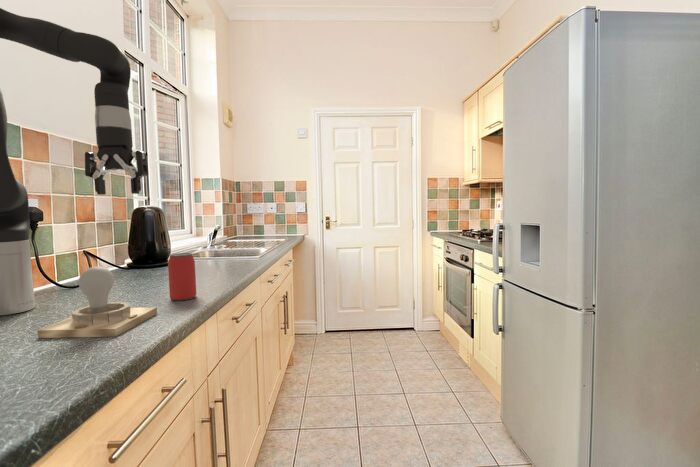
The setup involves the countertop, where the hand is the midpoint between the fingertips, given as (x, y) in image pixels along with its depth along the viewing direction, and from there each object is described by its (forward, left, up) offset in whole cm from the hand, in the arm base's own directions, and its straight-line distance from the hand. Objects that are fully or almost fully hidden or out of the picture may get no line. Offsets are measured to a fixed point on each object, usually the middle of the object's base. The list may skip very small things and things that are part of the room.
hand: (118, 194), depth 92 cm
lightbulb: (+5, -16, -27) cm, 32 cm away
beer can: (+12, +6, -28) cm, 31 cm away
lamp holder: (+5, -16, -28) cm, 33 cm away
